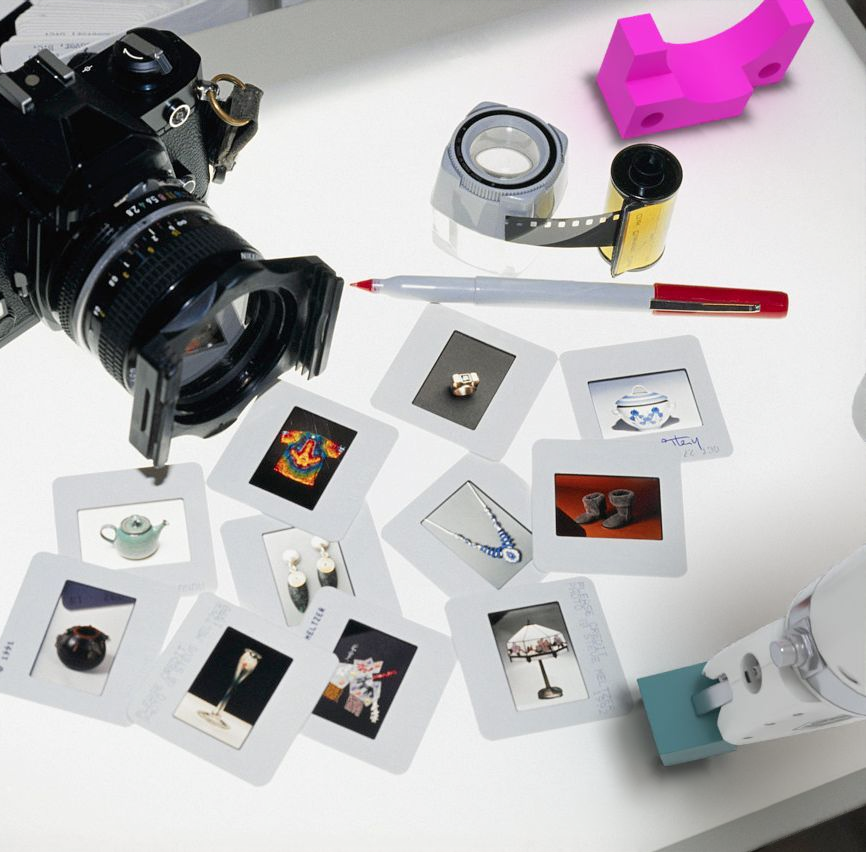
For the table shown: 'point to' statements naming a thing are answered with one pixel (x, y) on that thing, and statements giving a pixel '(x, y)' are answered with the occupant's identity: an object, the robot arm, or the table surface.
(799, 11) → the magenta bracket
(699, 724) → the teal rectangular block
